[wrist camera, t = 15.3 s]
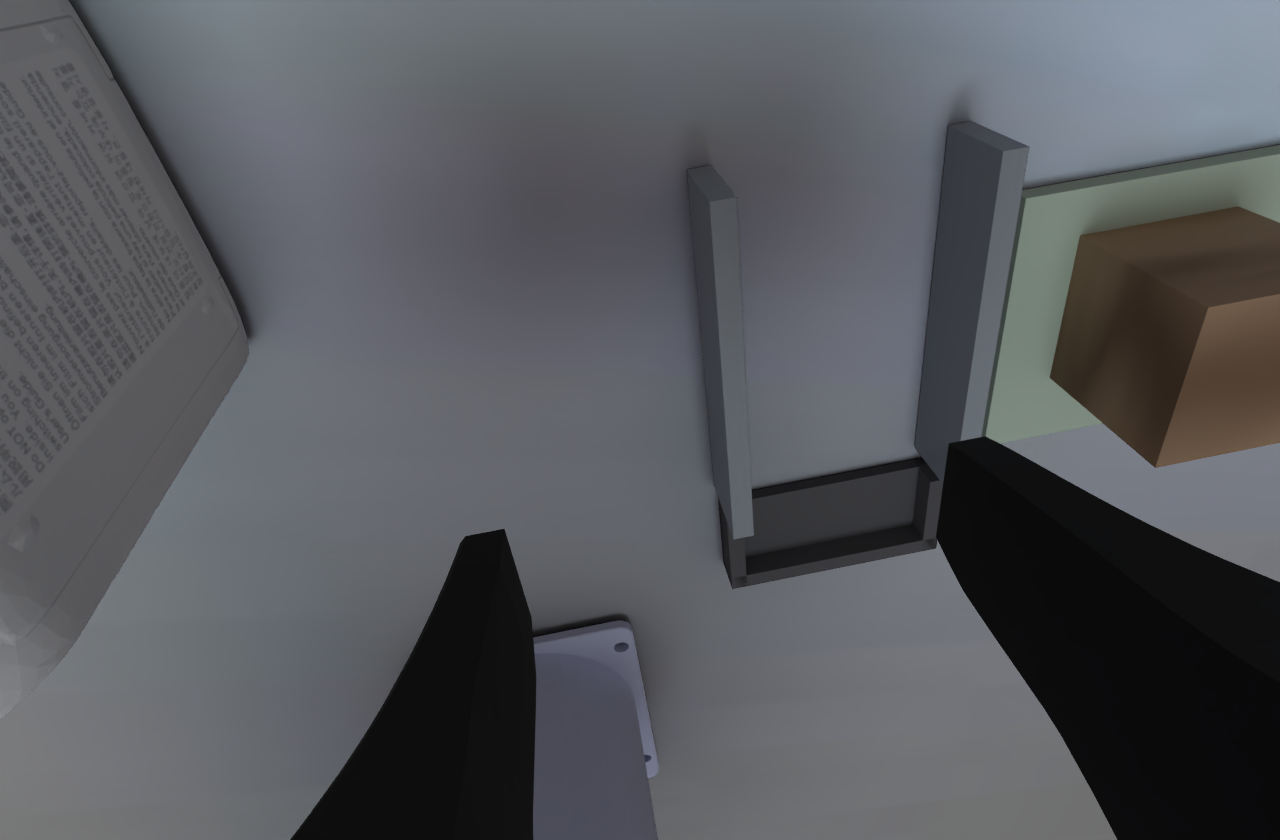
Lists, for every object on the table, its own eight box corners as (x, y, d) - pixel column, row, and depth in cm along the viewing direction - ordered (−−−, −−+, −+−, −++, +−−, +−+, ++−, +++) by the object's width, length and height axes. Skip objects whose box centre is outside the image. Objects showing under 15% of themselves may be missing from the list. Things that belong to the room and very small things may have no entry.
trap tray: (919, 524, 26) (936, 548, 25) (723, 563, 26) (732, 589, 25) (927, 456, 25) (945, 479, 24) (718, 497, 24) (727, 521, 23)
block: (1191, 350, 23) (1322, 434, 19) (1049, 377, 23) (1155, 467, 19) (1238, 206, 20) (1400, 270, 17) (1079, 235, 20) (1208, 307, 17)
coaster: (1207, 390, 25) (1222, 400, 24) (974, 435, 24) (983, 446, 24) (1298, 141, 20) (1317, 147, 20) (1012, 191, 20) (1025, 198, 19)
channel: (932, 443, 24) (971, 492, 22) (714, 485, 24) (733, 539, 22) (971, 120, 19) (1029, 146, 17) (686, 169, 18) (709, 201, 16)
